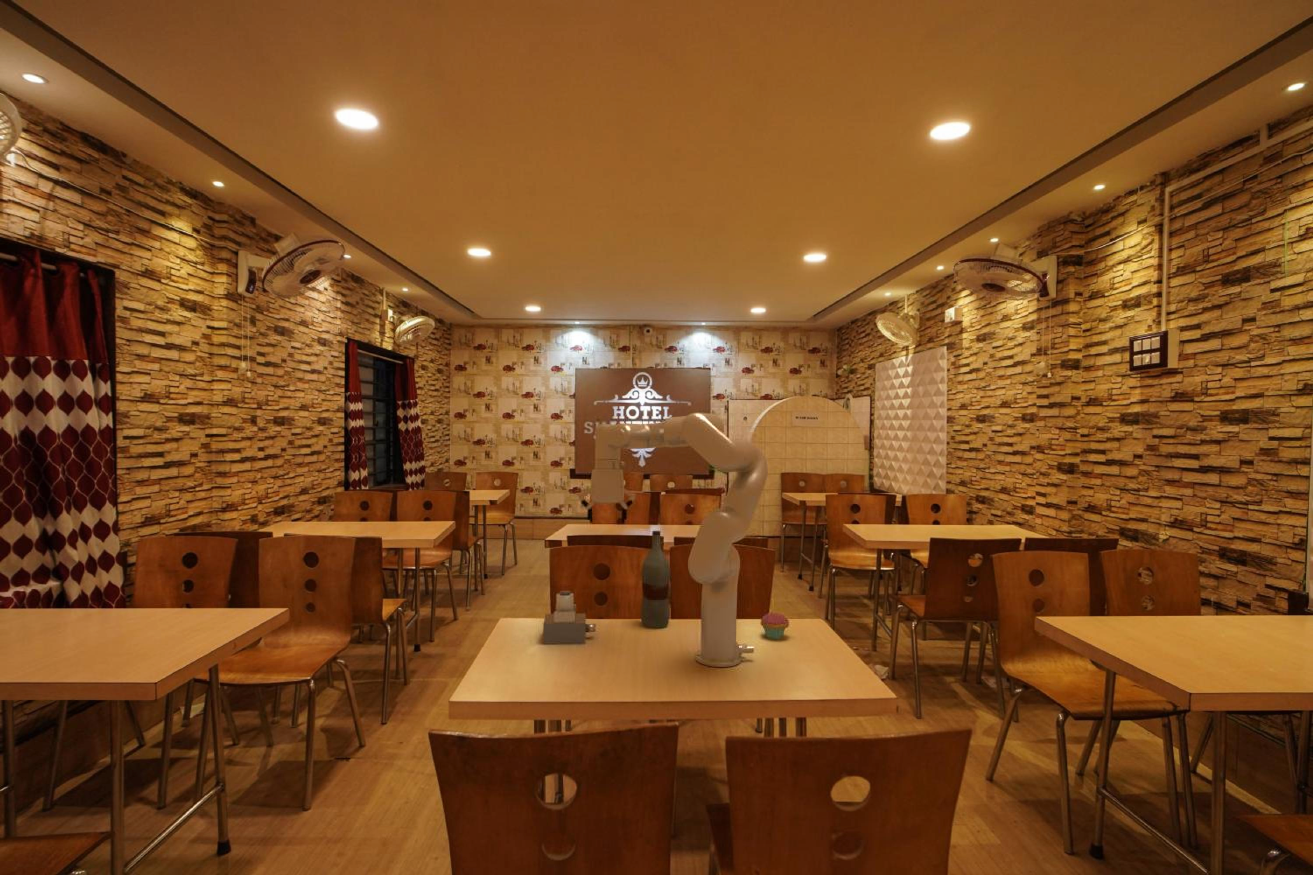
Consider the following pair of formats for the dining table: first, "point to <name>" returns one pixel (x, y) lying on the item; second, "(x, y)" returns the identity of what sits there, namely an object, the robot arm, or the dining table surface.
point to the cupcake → (774, 624)
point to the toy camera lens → (564, 601)
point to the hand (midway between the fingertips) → (606, 522)
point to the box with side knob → (566, 627)
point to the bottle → (655, 587)
